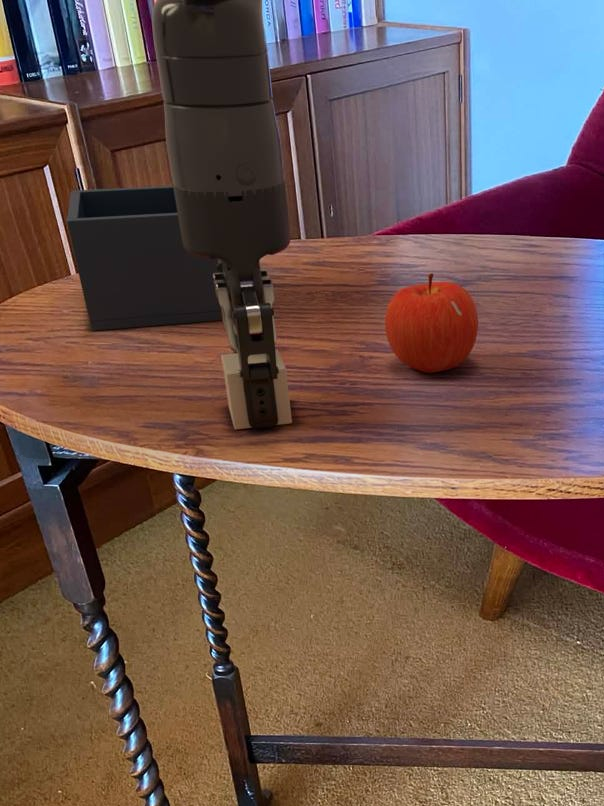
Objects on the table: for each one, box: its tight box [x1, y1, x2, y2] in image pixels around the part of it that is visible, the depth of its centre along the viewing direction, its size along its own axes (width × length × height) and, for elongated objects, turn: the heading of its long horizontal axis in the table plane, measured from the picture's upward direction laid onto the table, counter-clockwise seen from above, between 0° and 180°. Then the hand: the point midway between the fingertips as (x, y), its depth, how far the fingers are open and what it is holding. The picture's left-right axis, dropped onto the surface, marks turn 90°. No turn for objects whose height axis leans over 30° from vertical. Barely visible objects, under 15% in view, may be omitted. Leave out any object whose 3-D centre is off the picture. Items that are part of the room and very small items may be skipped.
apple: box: [384, 272, 479, 374], centre depth 83 cm, size 8×8×8 cm
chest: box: [66, 185, 222, 332], centre depth 96 cm, size 14×14×10 cm
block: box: [220, 349, 293, 430], centre depth 74 cm, size 4×4×4 cm
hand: (259, 412), depth 75 cm, fingers closed on block, 4 cm apart
